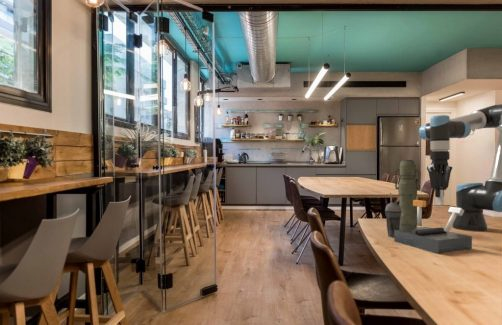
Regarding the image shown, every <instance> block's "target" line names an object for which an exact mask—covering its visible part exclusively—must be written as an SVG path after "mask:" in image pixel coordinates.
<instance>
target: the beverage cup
mask: <svg viewBox="0 0 502 325" xmlns="http://www.w3.org/2000/svg"><path fill="white" fill-rule="evenodd" d="M389 195H390V196H389V197H390V202H389V203H388V204H386V206H385V209H384V213H385V219H386V230H387V237H389V238H394V230H397V229H399V227H400V216H401V212H402V211H401V207H400V206H399V203H398V202H394V201H393V198H392V193H391V192H389Z"/></svg>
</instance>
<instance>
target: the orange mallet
mask: <svg viewBox="0 0 502 325" xmlns="http://www.w3.org/2000/svg"><path fill="white" fill-rule="evenodd" d="M413 206H416V217H417V227H423V221H422V220H423V218H422V217H423V208H426V207H427V201H426V200H420V199H416V200H413Z"/></svg>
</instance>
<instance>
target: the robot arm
mask: <svg viewBox="0 0 502 325" xmlns="http://www.w3.org/2000/svg"><path fill="white" fill-rule="evenodd" d="M429 122H430V123H426V124H423V125H421V126H420V127H419V129H418V133H419V134H418V136H419V137H420V139H422V140H423V141H426V140H427V141H430V142H429V143H430V144H429V145H430V149H429V150H430V153H429V159H430V160H431V163H430V166H426V170H427V172H428V176H429V182H430V187H431V189H432V190H434V196H435V205H437V206H444V201H445V200H444V197H445V191H446V190H447V189H448V188H449V183H450V179H451V173H452V170H453V166H450V165H449V162H448V161H449V160H450V157H451V156H450V149H451V148H450V146H451V145H450V144H451V142H450V139H465V138H467V137H468V136H470V134H471V132H472V130H474V129H475V130H482V129H497V131H498V138H497V143H496V148H495V152H494V157H493V160H492V167H491V170H490V177H489V178H488V179H486V180H485V181H484V182H485V183H483V182H471V183H459V184H457V186H456V191H455V193H456V195H455V196H456V197H455V201H456V203H455V204H456V206H455V207H457V208H462V209H463V210H464V213H463V215H462V216H459V215H457V216H456V218H455V220H454V222H453V224H452V228H453V229H457V230H461V231H462V230H463V231H471V232H474V231H475V232H478V231H479V232H485V231H487V230H488V224H487V220H486V219H485V216H484V211H492V212H497V213H502V103H500V104H494V105H490V106H487V107H483V108H481V109H478V110H474V111H472V112H470V114H466V115H461V116H458V117H454V118H450V116H449V115H445V114H443V115H442V114H441V115H433V116H431V117H430V120H429Z"/></svg>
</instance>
